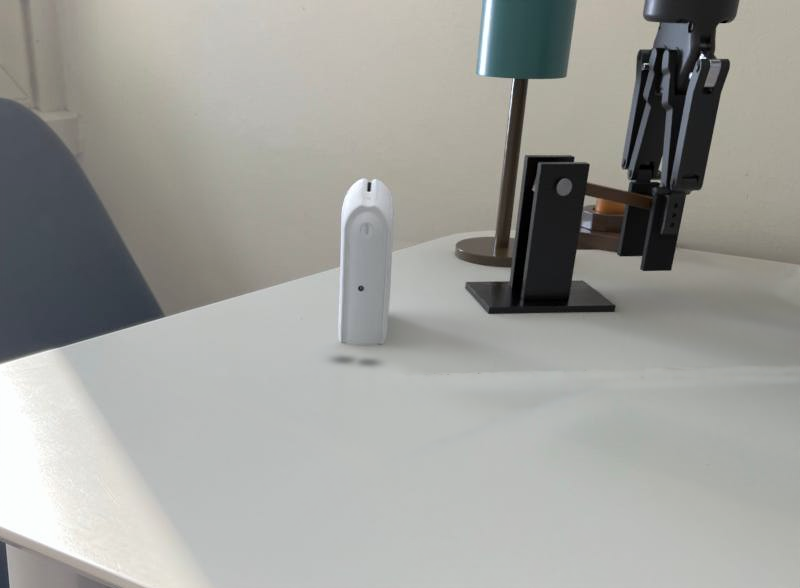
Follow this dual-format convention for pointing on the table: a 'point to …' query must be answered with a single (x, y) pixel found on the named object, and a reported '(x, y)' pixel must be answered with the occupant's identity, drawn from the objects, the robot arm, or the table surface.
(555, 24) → the lamp
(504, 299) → the switch bracket
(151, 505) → the table surface
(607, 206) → the lamp button
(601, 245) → the block
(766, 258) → the table surface
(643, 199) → the switch lever
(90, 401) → the table surface
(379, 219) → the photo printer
